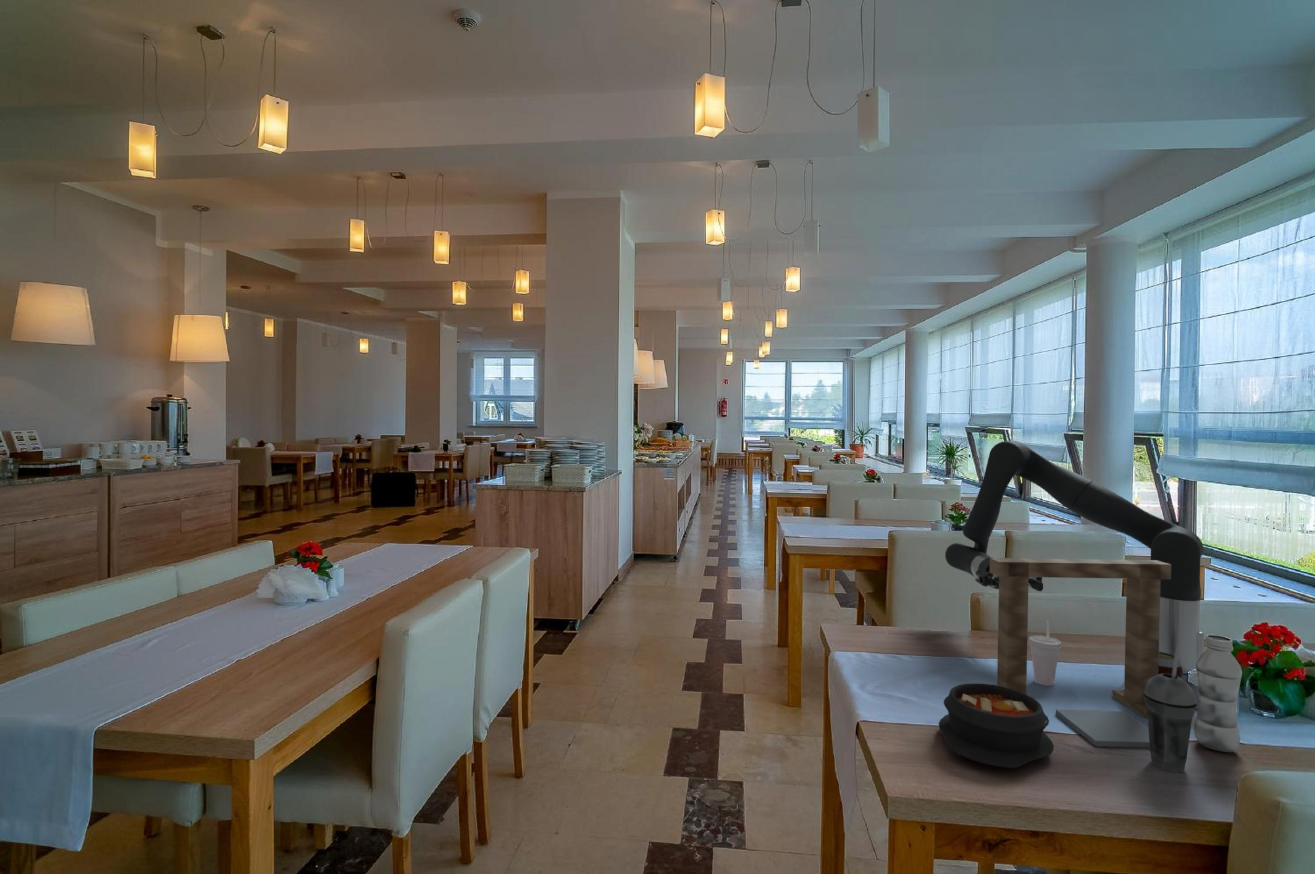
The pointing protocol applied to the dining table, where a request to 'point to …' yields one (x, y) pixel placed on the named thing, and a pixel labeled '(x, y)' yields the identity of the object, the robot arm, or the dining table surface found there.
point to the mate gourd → (1168, 664)
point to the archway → (1137, 572)
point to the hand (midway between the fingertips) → (1022, 586)
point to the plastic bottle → (1218, 696)
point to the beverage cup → (1169, 719)
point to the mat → (1107, 727)
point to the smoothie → (1044, 657)
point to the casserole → (995, 725)
